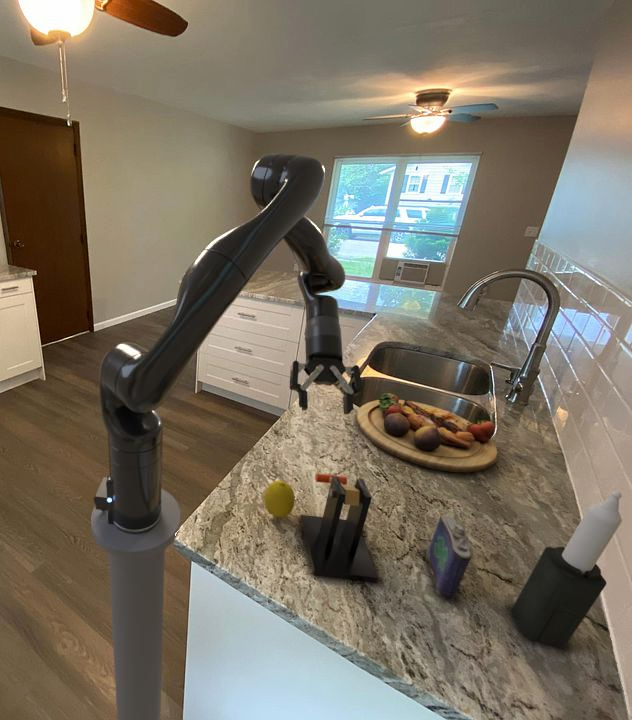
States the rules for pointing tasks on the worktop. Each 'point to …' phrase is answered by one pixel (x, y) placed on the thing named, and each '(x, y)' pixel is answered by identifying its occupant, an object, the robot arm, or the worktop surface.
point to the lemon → (279, 499)
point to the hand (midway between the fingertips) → (326, 411)
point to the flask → (448, 556)
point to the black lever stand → (340, 537)
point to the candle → (567, 579)
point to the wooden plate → (427, 435)
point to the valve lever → (349, 491)
